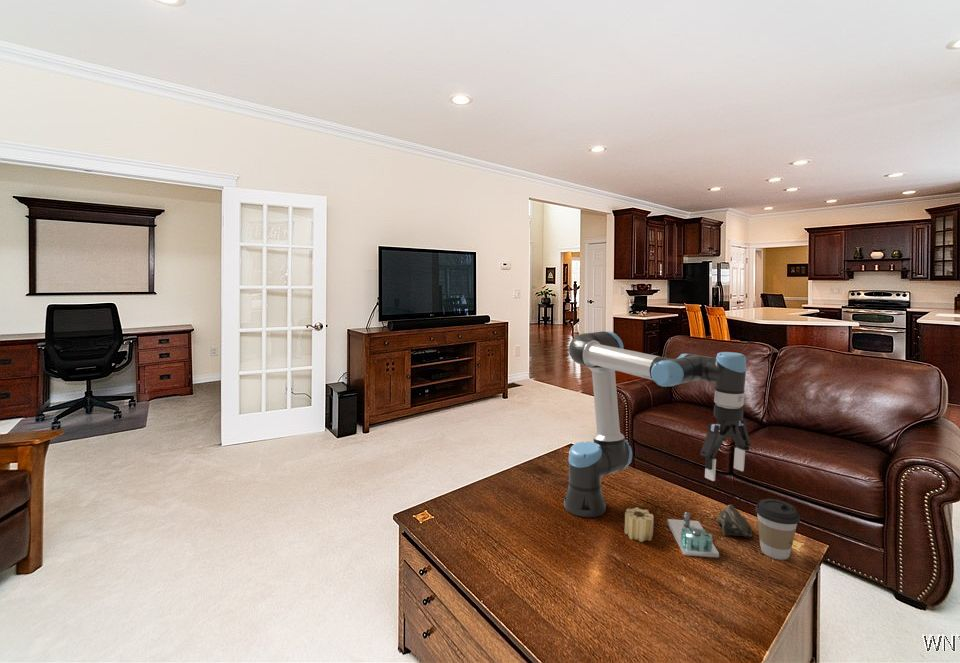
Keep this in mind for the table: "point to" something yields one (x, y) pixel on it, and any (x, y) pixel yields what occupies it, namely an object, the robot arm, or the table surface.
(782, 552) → the coffee cup
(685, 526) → the carrier
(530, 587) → the table surface
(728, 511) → the grey rock
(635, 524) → the gear
